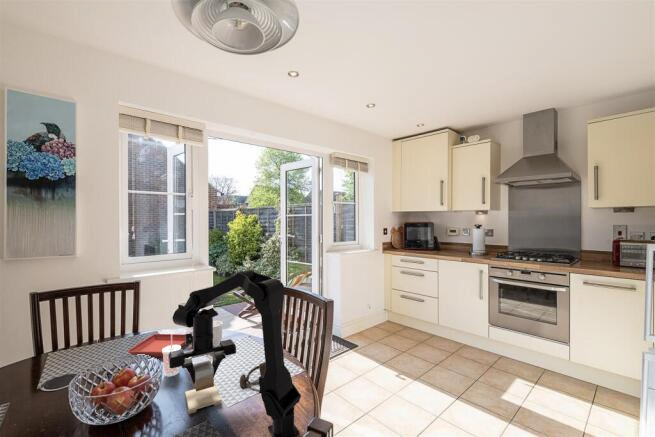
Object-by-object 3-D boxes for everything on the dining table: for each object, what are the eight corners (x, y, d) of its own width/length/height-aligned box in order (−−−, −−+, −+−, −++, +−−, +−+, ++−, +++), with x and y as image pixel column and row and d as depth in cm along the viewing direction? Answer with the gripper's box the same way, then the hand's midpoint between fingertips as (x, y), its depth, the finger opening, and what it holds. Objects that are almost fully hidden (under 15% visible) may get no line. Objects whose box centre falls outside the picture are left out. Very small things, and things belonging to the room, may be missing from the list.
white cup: (202, 344, 133) (202, 322, 132) (221, 341, 136) (221, 319, 136) (203, 352, 125) (203, 328, 125) (223, 348, 129) (223, 325, 129)
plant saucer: (154, 340, 138) (154, 333, 138) (193, 341, 137) (193, 334, 137) (126, 359, 120) (126, 351, 120) (171, 360, 119) (171, 352, 119)
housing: (213, 386, 92) (213, 368, 92) (196, 391, 89) (195, 372, 89) (210, 377, 97) (209, 360, 97) (193, 382, 94) (192, 364, 94)
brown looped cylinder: (273, 376, 97) (282, 356, 107) (235, 370, 99) (248, 350, 108) (273, 395, 99) (282, 373, 108) (236, 388, 100) (247, 367, 110)
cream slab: (221, 404, 91) (221, 399, 91) (189, 414, 86) (189, 409, 86) (215, 388, 100) (215, 383, 100) (185, 396, 95) (185, 391, 95)
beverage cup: (158, 377, 106) (158, 338, 106) (167, 368, 112) (167, 331, 112) (176, 377, 106) (176, 337, 106) (184, 368, 112) (183, 331, 112)
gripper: (228, 316, 104) (228, 361, 105) (166, 327, 95) (167, 376, 95) (236, 327, 95) (236, 376, 95) (169, 339, 85) (169, 394, 85)
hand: (203, 380), depth 93 cm, fingers closed on housing, 5 cm apart
